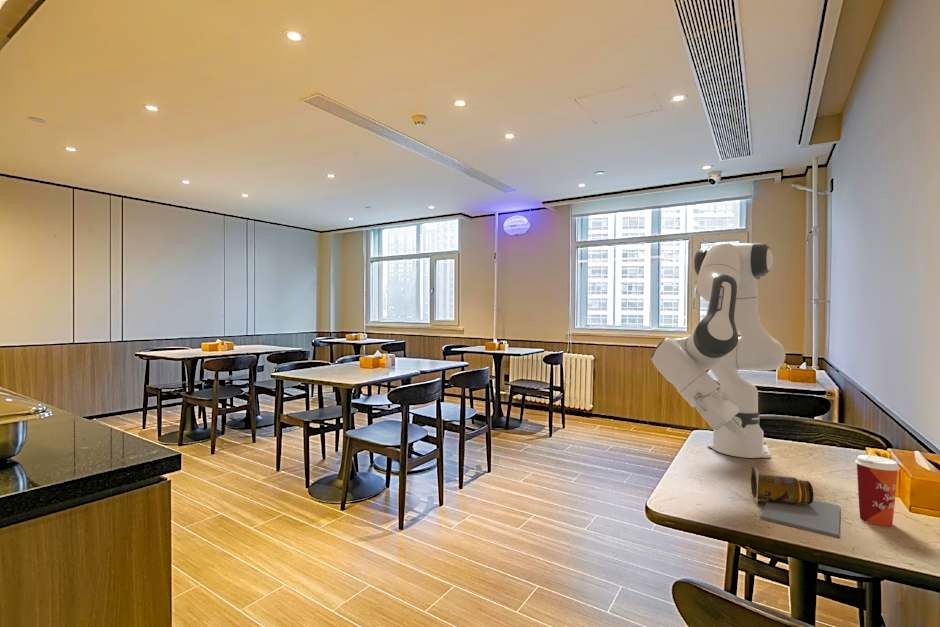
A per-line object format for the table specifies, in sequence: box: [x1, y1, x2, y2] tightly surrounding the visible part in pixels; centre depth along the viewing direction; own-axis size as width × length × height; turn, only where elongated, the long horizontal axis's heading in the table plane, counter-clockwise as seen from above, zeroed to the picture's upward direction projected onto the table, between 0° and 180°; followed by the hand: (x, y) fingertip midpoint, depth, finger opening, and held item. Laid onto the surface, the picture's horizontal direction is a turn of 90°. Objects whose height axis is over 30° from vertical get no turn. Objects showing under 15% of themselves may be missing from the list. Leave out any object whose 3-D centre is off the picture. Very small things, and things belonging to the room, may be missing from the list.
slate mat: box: [760, 499, 841, 538], centre depth 112 cm, size 20×14×1 cm
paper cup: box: [854, 454, 901, 527], centre depth 108 cm, size 8×8×14 cm
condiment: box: [750, 461, 814, 506], centre depth 117 cm, size 7×8×12 cm
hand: (743, 435), depth 119 cm, fingers closed
